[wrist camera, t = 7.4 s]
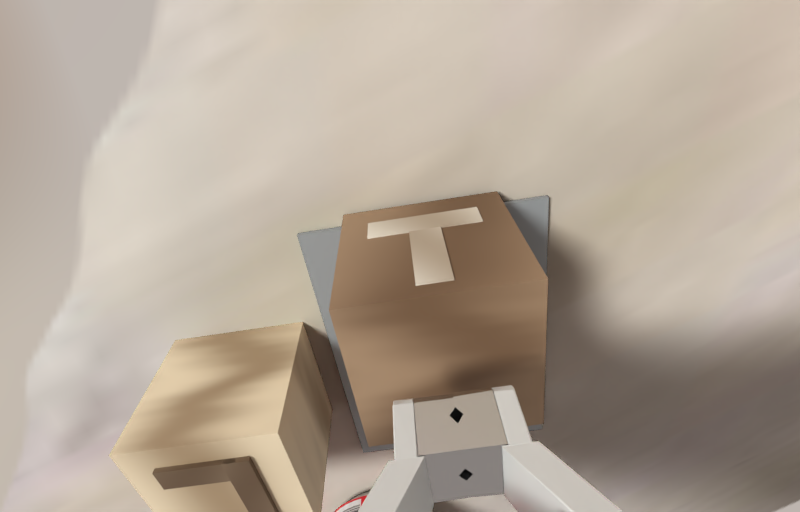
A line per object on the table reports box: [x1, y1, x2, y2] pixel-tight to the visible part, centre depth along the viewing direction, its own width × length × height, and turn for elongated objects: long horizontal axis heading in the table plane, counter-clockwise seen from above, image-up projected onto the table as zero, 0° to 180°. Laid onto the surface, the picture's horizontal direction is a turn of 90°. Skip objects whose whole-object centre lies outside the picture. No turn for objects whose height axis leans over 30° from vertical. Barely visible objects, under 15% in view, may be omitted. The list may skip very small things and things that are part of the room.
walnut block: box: [329, 191, 548, 447], centre depth 16 cm, size 6×6×6 cm
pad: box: [297, 195, 549, 452], centre depth 21 cm, size 10×14×1 cm
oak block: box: [109, 322, 332, 512], centre depth 19 cm, size 6×6×6 cm
